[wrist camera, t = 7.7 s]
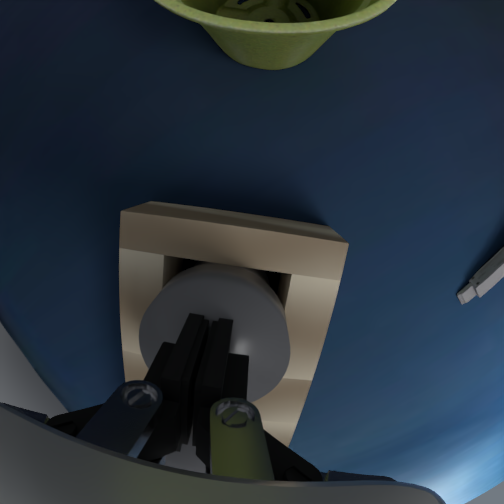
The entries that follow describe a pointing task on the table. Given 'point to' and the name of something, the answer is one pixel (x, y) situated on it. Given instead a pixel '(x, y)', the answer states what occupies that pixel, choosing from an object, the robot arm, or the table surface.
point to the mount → (243, 255)
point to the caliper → (484, 278)
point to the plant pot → (274, 26)
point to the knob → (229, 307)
